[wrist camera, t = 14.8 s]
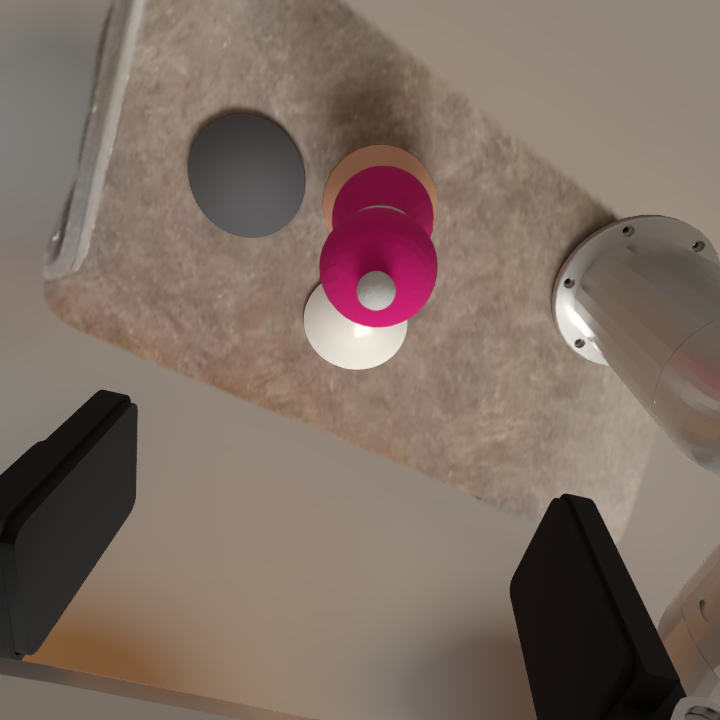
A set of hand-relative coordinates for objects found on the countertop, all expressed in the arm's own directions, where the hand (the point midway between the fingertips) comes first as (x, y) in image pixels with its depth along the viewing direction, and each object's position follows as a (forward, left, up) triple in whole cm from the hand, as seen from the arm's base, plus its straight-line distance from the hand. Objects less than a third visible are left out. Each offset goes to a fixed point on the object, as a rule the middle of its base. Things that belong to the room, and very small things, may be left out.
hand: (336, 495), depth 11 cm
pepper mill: (0, -1, -33) cm, 33 cm away
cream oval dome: (0, +9, -33) cm, 34 cm away
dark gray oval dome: (+11, -1, -33) cm, 34 cm away
